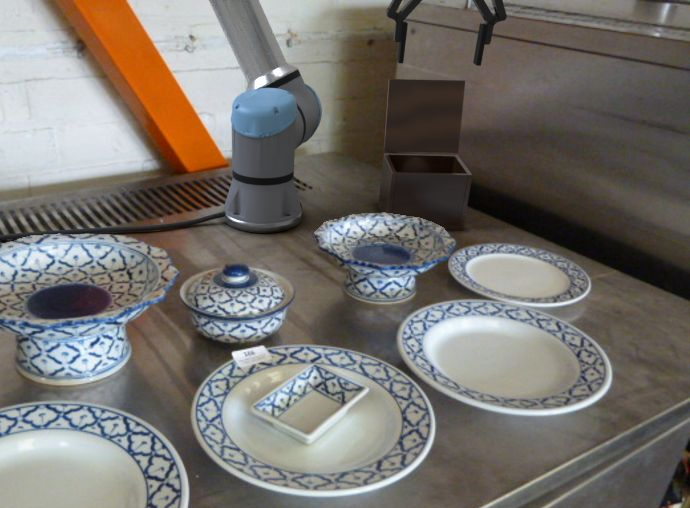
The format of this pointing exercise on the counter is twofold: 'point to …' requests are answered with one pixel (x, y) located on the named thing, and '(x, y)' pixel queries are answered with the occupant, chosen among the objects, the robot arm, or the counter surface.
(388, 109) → the lid
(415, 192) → the chest
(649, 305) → the counter surface
